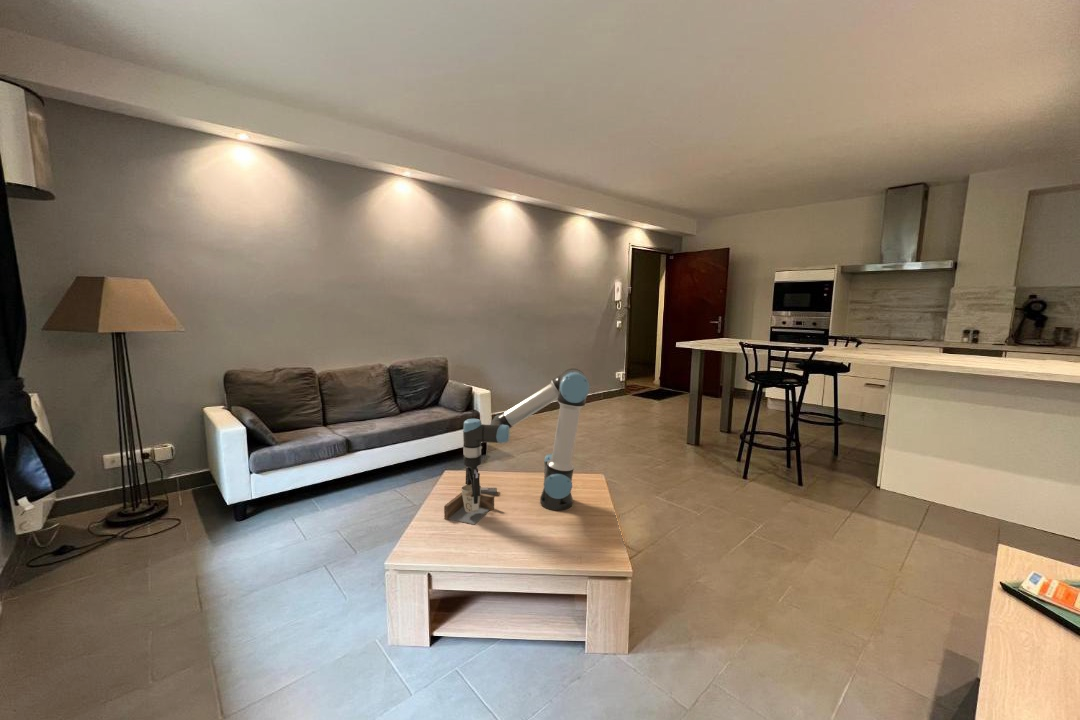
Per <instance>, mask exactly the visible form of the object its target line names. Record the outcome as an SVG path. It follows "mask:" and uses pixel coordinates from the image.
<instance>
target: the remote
mask: <svg viewBox="0 0 1080 720" xmlns="http://www.w3.org/2000/svg"><path fill="white" fill-rule="evenodd" d="M481 493H482V494H487V495H492V496H497V494H498V487H489V486H488V487H486V486H485V487H483V486H482V487H481Z"/></svg>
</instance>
